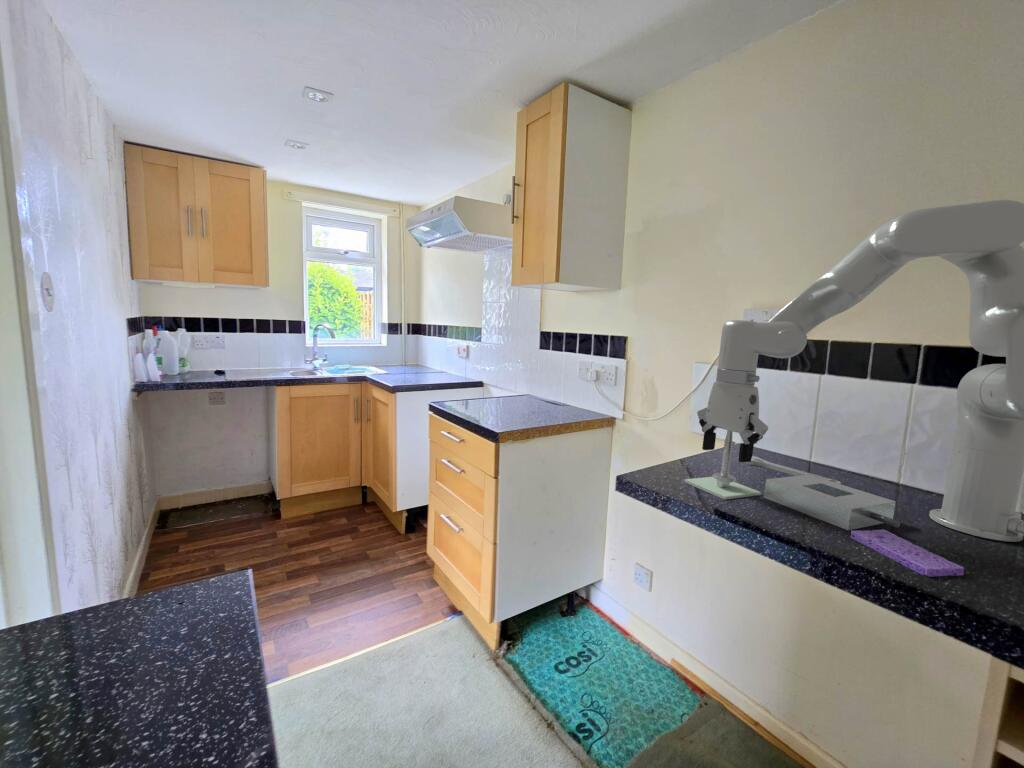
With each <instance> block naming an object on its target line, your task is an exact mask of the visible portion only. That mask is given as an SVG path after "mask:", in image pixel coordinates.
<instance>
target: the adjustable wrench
mask: <svg viewBox="0 0 1024 768" xmlns="http://www.w3.org/2000/svg"><path fill="white" fill-rule="evenodd" d="M738 458H739V455H738V456H737V459H738ZM741 463H743V464H745V465H749V466H756V467H763V468H766V469H771V470H773V471H774V470H775V471H777V472H781V473H783V474H788V475H791V476H800V475H812V476H816V477H819V478H822V479H825V480H828V481H832V482H835V483H838V484H841V485H842V482H841V481H839V480H836V479H832V478H828V477H825V476H822V475H817V474H814V473H810V472H808V471H803V470H800V469H799V470H798V469H796V468H793V467H787V466H785V465H781V464H778V463H773V462H770V461H767V460H765V459H764V458H760V457H758V456H755V455H752V458H751V461H750V462H741Z"/></svg>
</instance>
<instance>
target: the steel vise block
mask: <svg viewBox="0 0 1024 768" xmlns="http://www.w3.org/2000/svg"><path fill="white" fill-rule="evenodd" d="M763 493H764V494H763V498H765V499H767V500H770V501H772V502H775V503H777V504H779V505H783V506H785V507H787V508H789V509H792V510H794V511H798V512H800V513H803V514H805V515H808V516H811V517H813V518H816V519H818V520H820V521H823V522H826V523H829V524H831V525H833V526H836V527H838V528H841V529H843V530H846V531H854V530H857V529H861V528H866V527H871V526H872V527H873V526H877V525H880V524H881V525H882V524H886V525H889V526H892V527H895V528H899V527H901V521H900V520H897V519H894V514H895V509H896V502H897V501H896V500H892V499H890V498H889V499H888V498H886V497H882V496H880V495H876V494H872V493H870V492H867V491H863V490H860V489H857V488H853V487H850V486H847V485H844V484H842V483H841V484H838V483H835V482H832V481H828V480H825V479H822V478H819V477H816V476H812V475H800V476H794V475H791V476H785V477H776V478H774V477H773V478H766V479H765V485H764V492H763Z"/></svg>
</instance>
